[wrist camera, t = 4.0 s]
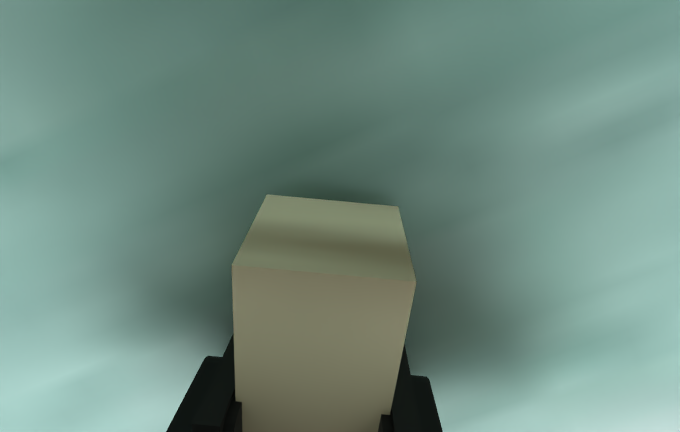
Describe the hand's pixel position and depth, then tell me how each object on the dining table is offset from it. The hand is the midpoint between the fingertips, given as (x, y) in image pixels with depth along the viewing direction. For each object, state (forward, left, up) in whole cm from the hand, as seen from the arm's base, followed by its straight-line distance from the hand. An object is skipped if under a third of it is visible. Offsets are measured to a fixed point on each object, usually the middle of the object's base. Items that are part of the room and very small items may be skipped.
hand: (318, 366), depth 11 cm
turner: (+3, 0, 0) cm, 3 cm away
